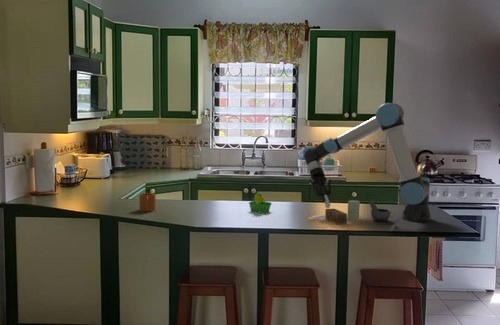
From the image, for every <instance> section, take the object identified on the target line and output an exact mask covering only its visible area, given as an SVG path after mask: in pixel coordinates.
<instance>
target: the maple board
mask: <svg viewBox="0 0 500 325" xmlns="http://www.w3.org/2000/svg"><path fill="white" fill-rule="evenodd" d="M306 219H308V220H313V221H321V222H328V223H333V222H332V221H330V220H328V219H326V218H325V214H320V213H319V214H316V215H315V214H314V215H312V216H310V217H307V218H306ZM360 221H361V219H359V220H358V221H357V222H355V221H347V224H346V225H348V226H351V225H354V224H355V223H358V222H360Z"/></svg>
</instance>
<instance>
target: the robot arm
mask: <svg viewBox="0 0 500 325" xmlns="http://www.w3.org/2000/svg"><path fill="white" fill-rule="evenodd" d="M404 113H405V112H404V109H403V108H402V106H400V104H398V103H393V102H386V103H383V104H381V105H380V106H379V107H378V108H377V110H376V113H375V116H373V117H371V118H370V119H369V120H366V121H363V122H362V123H361V124H359V125H357V126H355V127H353V128H351V129H350V130H349V129H348V131H346V132H344V133H342V134H341V135H338V136H336V137H335V138H332V137H328V138H327V139H325V140H323V141H321V143H319V144H318V145H316V146H312V145H311V146H310V145H309V146H306V147H304V149H303V150H302V151H303V158H304V161H305V163H306V164H305V165H306V166H307V170H308V173H309V176H310V179H309V182H308V185H309V186H310V187H311V188H312V190H313V192H314V194H315V195H316V197H320V199H321V201H322V203H324V205H325V209H330V206H331V202H330V201H331V199H330V196H331V194H332V188H331V183H332V180H331V179H327V178H326V176H325V172H324V169H323V166H322V164H321V160H322V159H323V158H325V157H327V156H329V155H333V154H337V153H338V152H340V151H342V150H344V149H346V148H347V147H349V146H351V145H353V144H355V143H357V142H359V141H360V140H362V139H364V138H366V137H368V136H370V135H372V134H374V133H376V132H378V131H379V130H381V132H383V133H384V134H386V137H387V140H388V143H389V146H390V149H391V153H392V156H393V159H394V162H395V166H396V169H397V172H398V175H399V179H398V185H399V187H400V193H399V194H400V197H401V199H402V200H403V202H404V203H405V206H404V208H403V211H402V214H401V215H402V216H401V218H402V219H404V220H405V221H411V222H429V221H432V214H431V210H430V206H429V204H430V203H429V202H430V187H431V186H430V185H431V179H430V178H429V177H424V176H423V177H422V175H421V174H419V173H417V169H416V167H415V163H414V160H413V157H412V154H411V150H410V147H409V145H408V142H407V138H406V136H405V132H404V127H405V122H404V116H405V115H404Z"/></svg>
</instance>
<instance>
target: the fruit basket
mask: <svg viewBox="0 0 500 325" xmlns="http://www.w3.org/2000/svg"><path fill="white" fill-rule="evenodd" d="M253 199H254V200H251V201H249V202H248V204H249V208H250V212H255V213H261V212H262V213H263V214H266V213H268V212H270V209H271V205H272V202H270V201H269V202H268V201H266V200H264V199H265V197H264V196H263V195H262V194H261V192H256V193H255V195H254V198H253Z"/></svg>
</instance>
